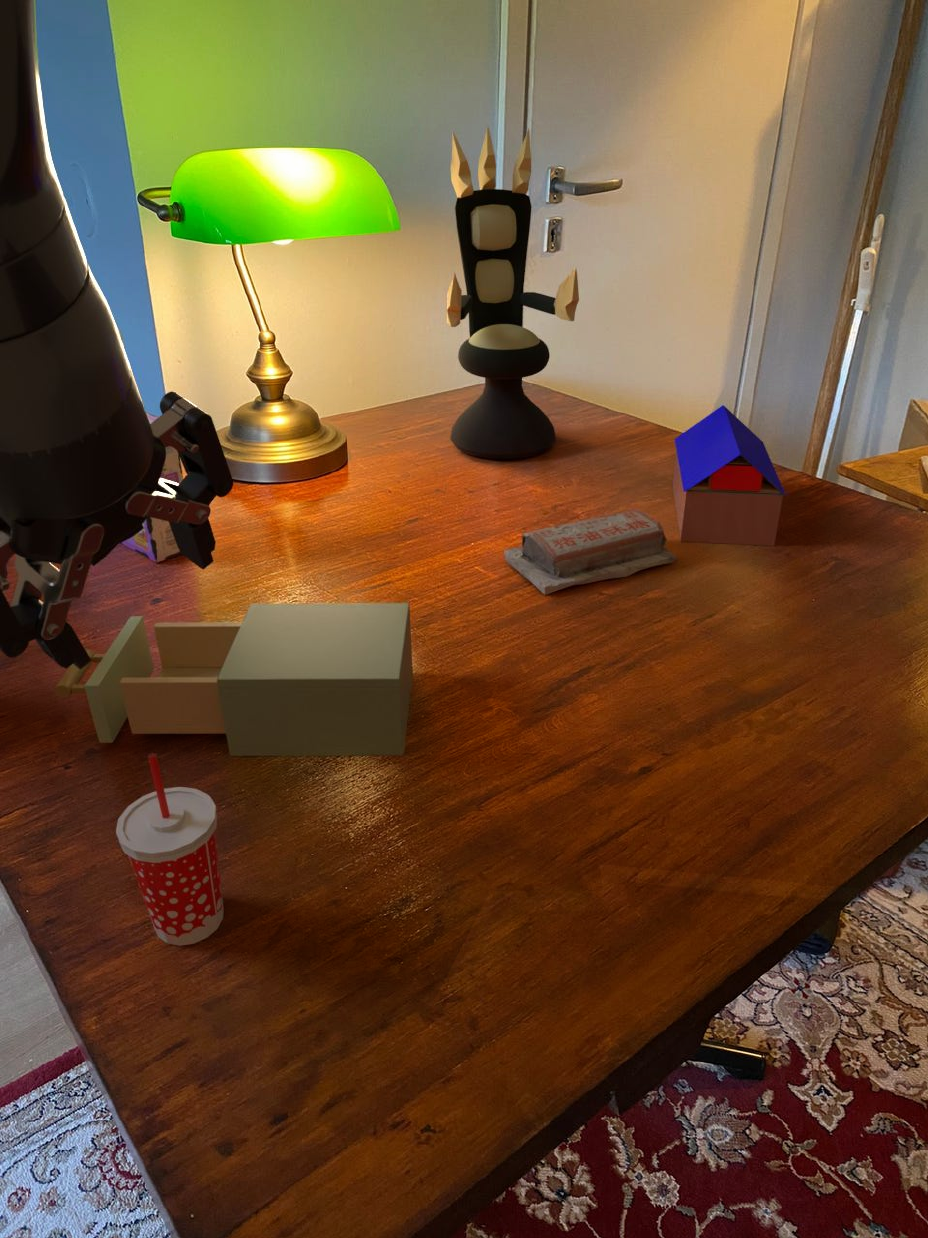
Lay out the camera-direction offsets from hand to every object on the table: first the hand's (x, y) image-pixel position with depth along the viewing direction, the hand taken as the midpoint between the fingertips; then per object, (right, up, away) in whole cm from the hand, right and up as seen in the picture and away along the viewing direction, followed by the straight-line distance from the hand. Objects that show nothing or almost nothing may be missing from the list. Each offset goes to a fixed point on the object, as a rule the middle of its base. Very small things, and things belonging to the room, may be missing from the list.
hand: (138, 605), depth 50 cm
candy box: (-22, +9, +65) cm, 69 cm away
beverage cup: (-1, -21, +12) cm, 24 cm away
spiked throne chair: (+23, +28, +97) cm, 104 cm away
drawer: (-8, -8, +32) cm, 34 cm away
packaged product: (+33, +6, +58) cm, 67 cm away
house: (+52, +13, +71) cm, 89 cm away
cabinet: (+5, -9, +33) cm, 34 cm away
